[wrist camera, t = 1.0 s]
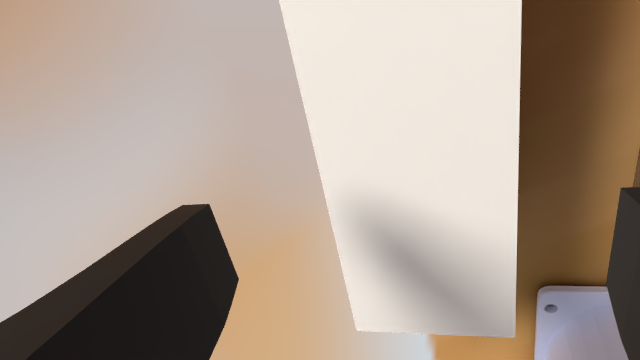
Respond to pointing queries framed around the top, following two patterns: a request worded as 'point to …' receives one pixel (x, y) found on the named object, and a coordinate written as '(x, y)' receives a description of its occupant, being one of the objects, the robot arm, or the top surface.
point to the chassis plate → (637, 173)
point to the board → (417, 155)
